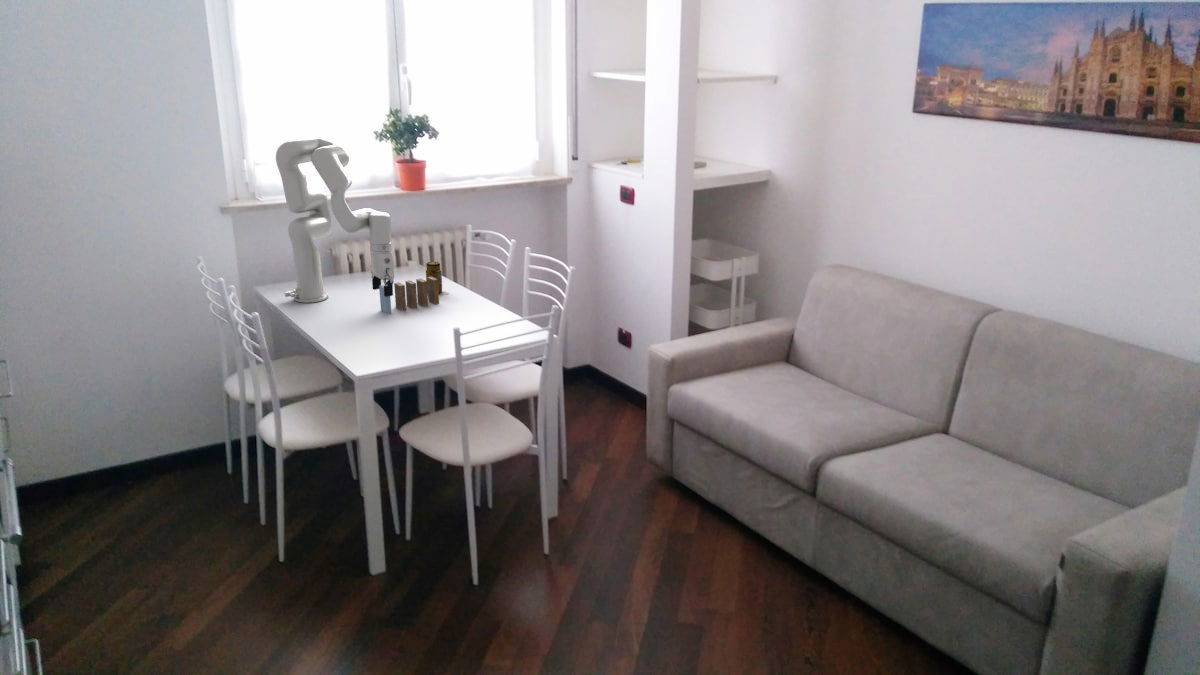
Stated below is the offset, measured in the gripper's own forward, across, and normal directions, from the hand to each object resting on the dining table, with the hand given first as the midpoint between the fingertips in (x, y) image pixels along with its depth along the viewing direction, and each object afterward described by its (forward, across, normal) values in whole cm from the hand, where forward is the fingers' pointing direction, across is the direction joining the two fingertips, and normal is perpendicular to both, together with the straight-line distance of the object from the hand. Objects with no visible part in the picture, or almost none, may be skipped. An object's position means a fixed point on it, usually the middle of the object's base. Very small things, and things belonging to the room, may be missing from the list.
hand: (382, 292), depth 335 cm
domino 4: (+7, -1, -16) cm, 17 cm away
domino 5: (+7, -1, -20) cm, 21 cm away
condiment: (+7, +10, -26) cm, 29 cm away
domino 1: (+7, -1, -1) cm, 7 cm away
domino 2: (+7, -1, -6) cm, 10 cm away
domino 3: (+7, -1, -11) cm, 13 cm away
